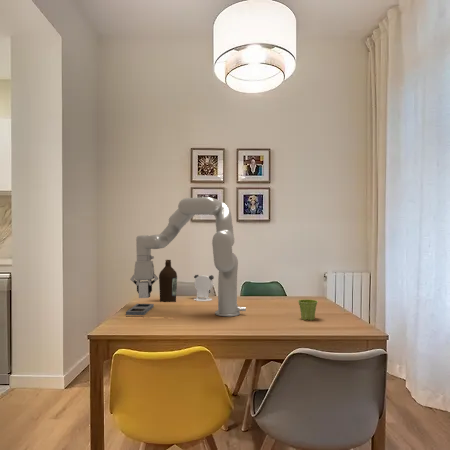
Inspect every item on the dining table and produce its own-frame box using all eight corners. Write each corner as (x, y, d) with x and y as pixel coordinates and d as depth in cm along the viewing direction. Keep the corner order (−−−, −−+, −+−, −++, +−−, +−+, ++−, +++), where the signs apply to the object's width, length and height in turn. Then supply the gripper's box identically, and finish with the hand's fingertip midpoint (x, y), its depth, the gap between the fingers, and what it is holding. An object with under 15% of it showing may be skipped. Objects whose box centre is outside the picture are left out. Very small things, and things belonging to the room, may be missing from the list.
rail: (153, 308, 221) (153, 303, 221) (144, 317, 199) (144, 311, 199) (137, 308, 221) (137, 303, 222) (125, 316, 199) (125, 311, 200)
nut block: (150, 296, 219) (150, 280, 219) (148, 297, 214) (147, 281, 214) (141, 296, 219) (140, 280, 219) (138, 298, 214) (138, 282, 214)
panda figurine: (215, 298, 254) (215, 274, 254) (210, 301, 243) (210, 276, 243) (196, 297, 257) (196, 273, 257) (191, 300, 246) (191, 275, 246)
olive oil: (156, 303, 236) (156, 260, 236) (162, 300, 246) (162, 259, 247) (173, 304, 234) (174, 260, 234) (179, 301, 244) (179, 259, 245)
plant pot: (306, 322, 190) (306, 303, 190) (294, 318, 198) (294, 300, 198) (322, 320, 194) (322, 301, 194) (309, 316, 203) (309, 298, 203)
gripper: (161, 257, 220) (161, 291, 220) (129, 258, 221) (130, 292, 220) (158, 258, 213) (159, 293, 212) (126, 259, 213) (126, 294, 213)
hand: (144, 292), depth 216 cm, fingers closed on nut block, 5 cm apart
